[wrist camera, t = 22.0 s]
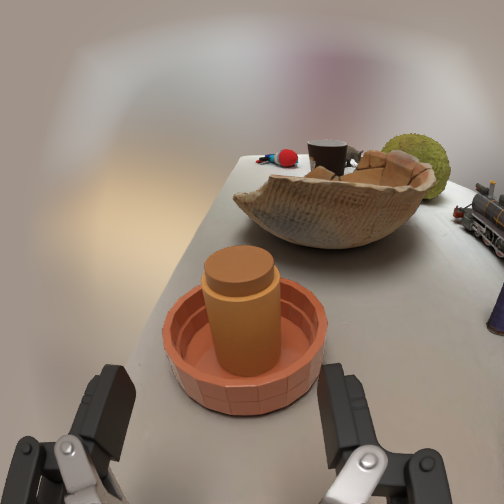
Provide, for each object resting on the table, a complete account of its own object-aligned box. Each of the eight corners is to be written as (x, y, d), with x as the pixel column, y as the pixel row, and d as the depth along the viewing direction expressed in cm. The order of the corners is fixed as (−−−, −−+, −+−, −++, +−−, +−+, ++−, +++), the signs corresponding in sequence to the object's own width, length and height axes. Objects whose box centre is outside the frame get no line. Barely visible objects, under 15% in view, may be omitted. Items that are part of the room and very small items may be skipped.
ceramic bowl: (274, 184, 62) (283, 113, 53) (401, 220, 55) (423, 149, 46) (199, 262, 38) (199, 146, 30) (408, 328, 31) (464, 217, 23)
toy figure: (254, 168, 88) (286, 167, 76) (252, 151, 87) (285, 149, 75) (274, 165, 92) (307, 165, 80) (272, 150, 91) (306, 148, 79)
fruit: (389, 208, 52) (368, 133, 52) (386, 209, 66) (369, 148, 65) (465, 191, 46) (442, 117, 45) (448, 195, 59) (430, 134, 58)
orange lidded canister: (213, 377, 23) (191, 287, 19) (219, 330, 28) (204, 244, 23) (282, 375, 23) (282, 283, 18) (279, 328, 28) (277, 240, 23)
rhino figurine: (366, 171, 75) (367, 150, 72) (321, 164, 83) (321, 143, 80) (370, 168, 78) (371, 148, 75) (327, 161, 86) (327, 142, 83)
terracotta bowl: (163, 416, 20) (145, 384, 18) (187, 311, 32) (179, 276, 29) (333, 412, 20) (342, 379, 18) (310, 305, 31) (312, 269, 29)
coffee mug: (347, 194, 60) (348, 147, 55) (306, 192, 62) (305, 145, 57) (345, 179, 69) (346, 138, 65) (310, 177, 72) (309, 137, 67)
